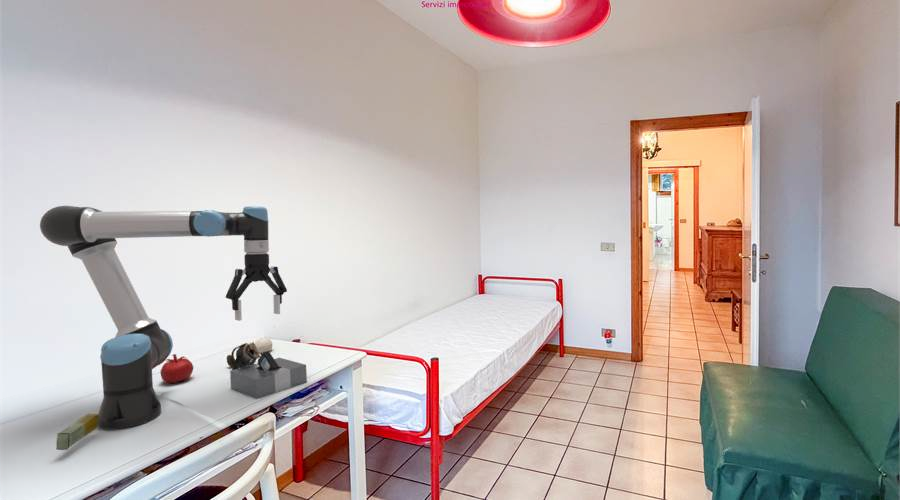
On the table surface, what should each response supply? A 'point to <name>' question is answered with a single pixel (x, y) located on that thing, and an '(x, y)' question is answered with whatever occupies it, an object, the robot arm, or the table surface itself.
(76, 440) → the medication box
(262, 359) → the ink cartridge
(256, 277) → the robot arm
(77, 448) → the table surface
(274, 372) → the grey block with hole
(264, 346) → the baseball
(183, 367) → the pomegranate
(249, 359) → the power plug
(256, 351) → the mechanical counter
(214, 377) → the table surface
